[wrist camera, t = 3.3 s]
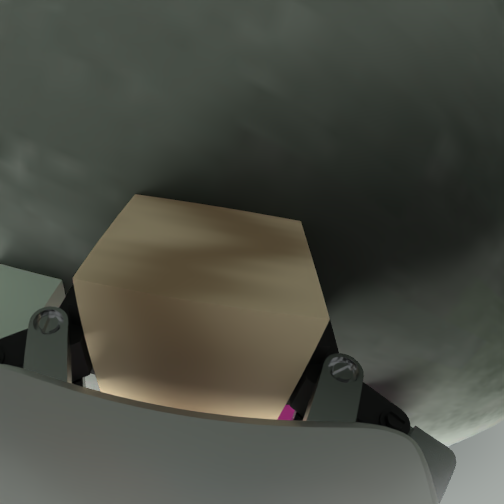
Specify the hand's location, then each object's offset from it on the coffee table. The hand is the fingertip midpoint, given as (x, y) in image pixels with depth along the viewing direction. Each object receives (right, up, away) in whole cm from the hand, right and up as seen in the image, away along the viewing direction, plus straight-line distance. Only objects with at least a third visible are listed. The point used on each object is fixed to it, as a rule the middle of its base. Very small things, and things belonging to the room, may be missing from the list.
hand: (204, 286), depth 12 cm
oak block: (0, 0, +1) cm, 1 cm away
